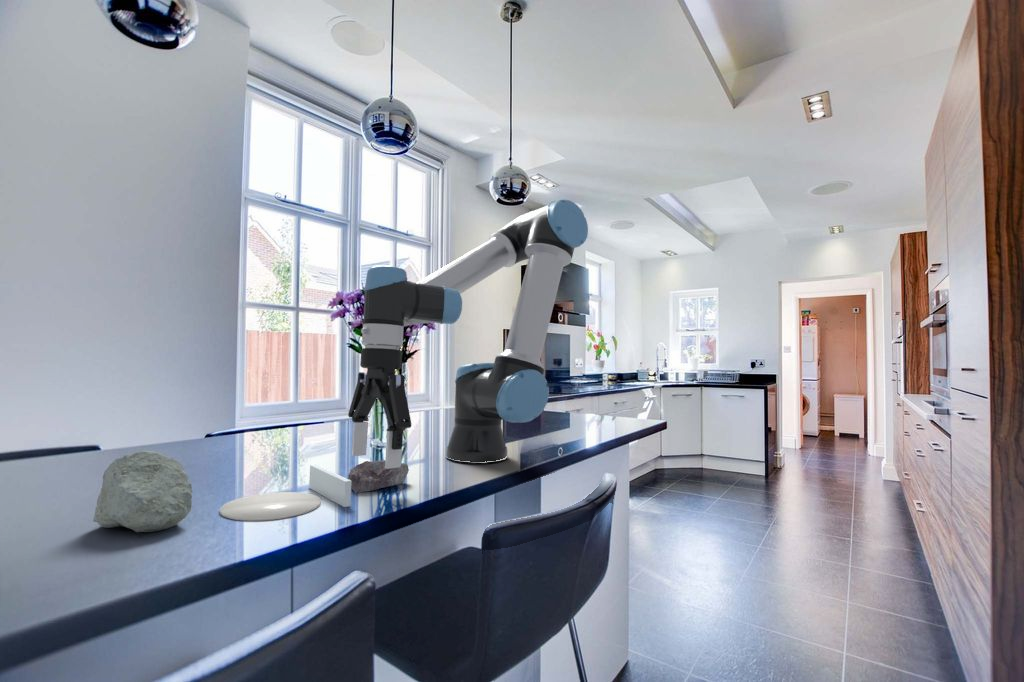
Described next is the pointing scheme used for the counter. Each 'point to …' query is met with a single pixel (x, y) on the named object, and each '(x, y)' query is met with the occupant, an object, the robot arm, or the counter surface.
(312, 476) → the divider wall
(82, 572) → the counter surface
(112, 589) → the counter surface
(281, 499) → the pad
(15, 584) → the counter surface
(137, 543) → the counter surface
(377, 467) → the rock
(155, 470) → the decorative stone
